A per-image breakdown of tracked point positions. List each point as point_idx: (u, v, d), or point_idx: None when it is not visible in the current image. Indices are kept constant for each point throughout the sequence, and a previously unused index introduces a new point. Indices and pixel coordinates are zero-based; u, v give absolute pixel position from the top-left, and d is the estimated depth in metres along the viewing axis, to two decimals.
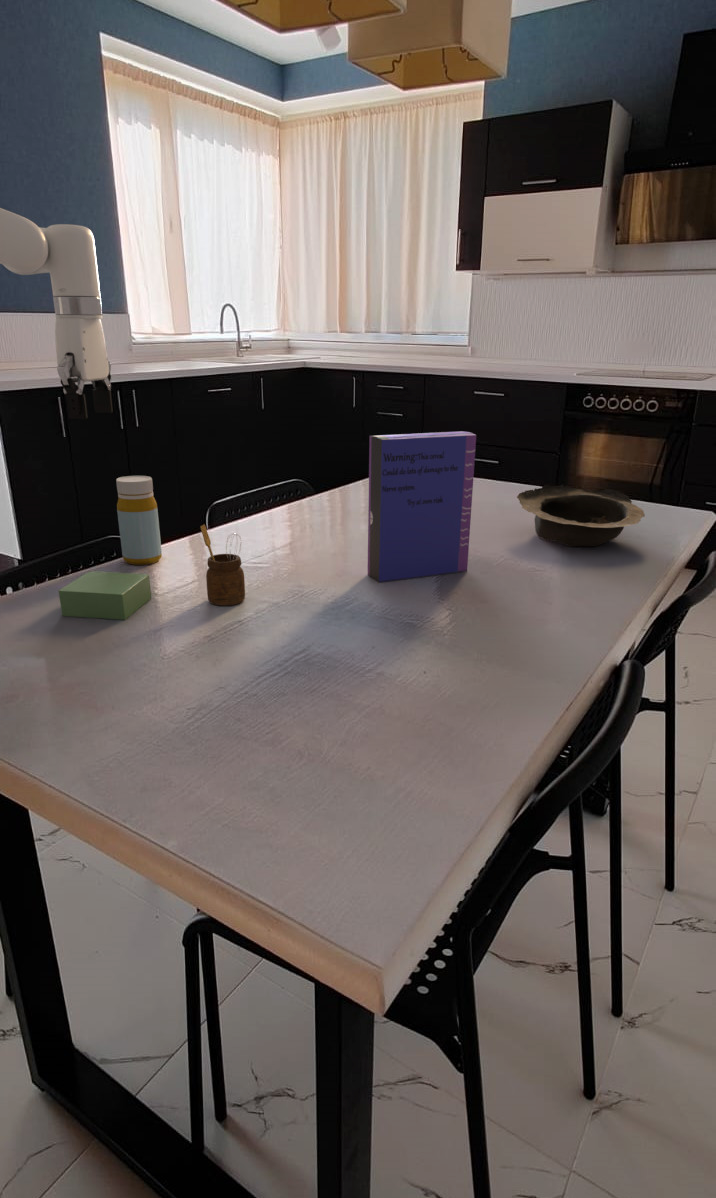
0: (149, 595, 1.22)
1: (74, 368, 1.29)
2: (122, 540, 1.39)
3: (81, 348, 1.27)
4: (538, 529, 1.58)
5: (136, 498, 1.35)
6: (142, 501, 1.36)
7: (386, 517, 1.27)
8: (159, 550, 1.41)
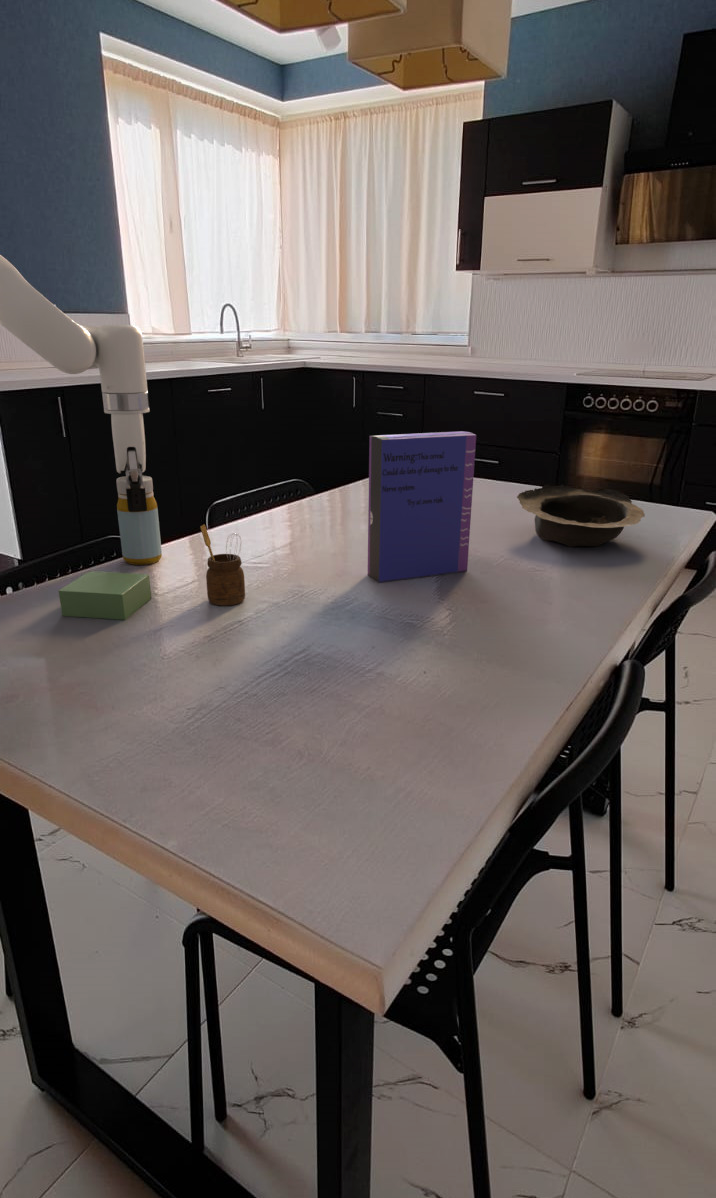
0: (149, 595, 1.22)
1: None
2: (122, 540, 1.39)
3: (142, 442, 1.30)
4: (538, 529, 1.58)
5: None
6: None
7: (386, 517, 1.27)
8: (159, 550, 1.41)
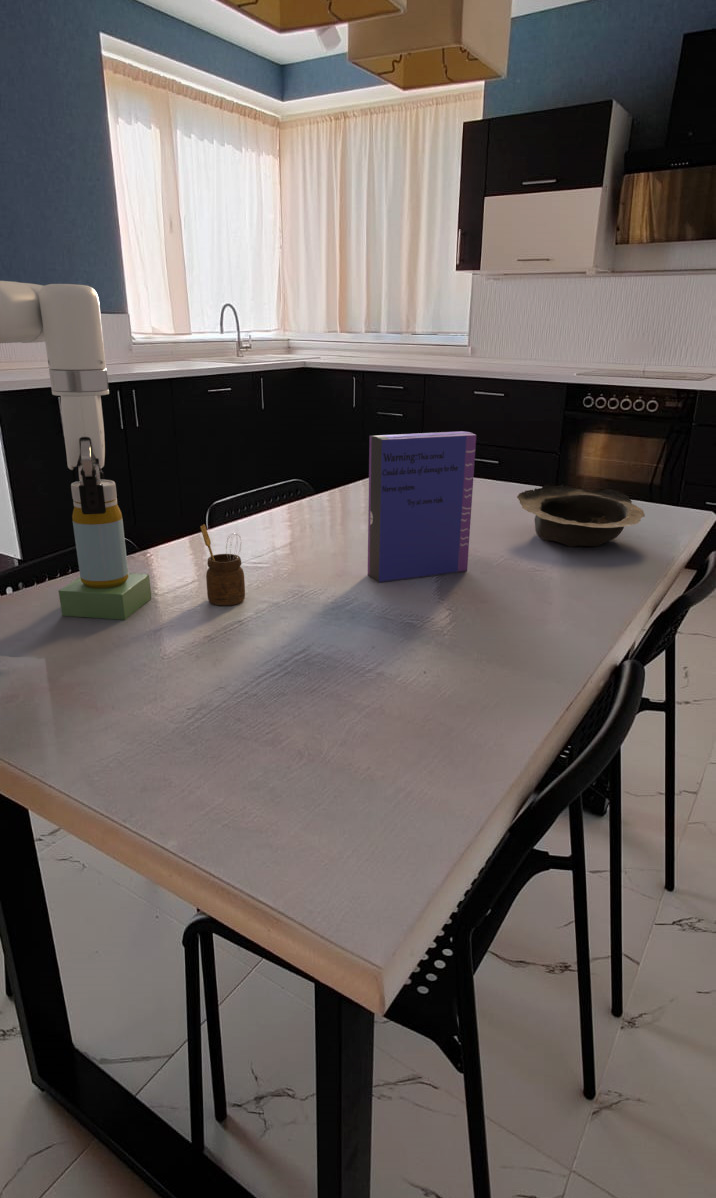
0: (149, 595, 1.22)
1: None
2: (79, 558, 1.14)
3: (99, 431, 1.05)
4: (538, 529, 1.58)
5: None
6: None
7: (386, 517, 1.27)
8: (125, 570, 1.16)
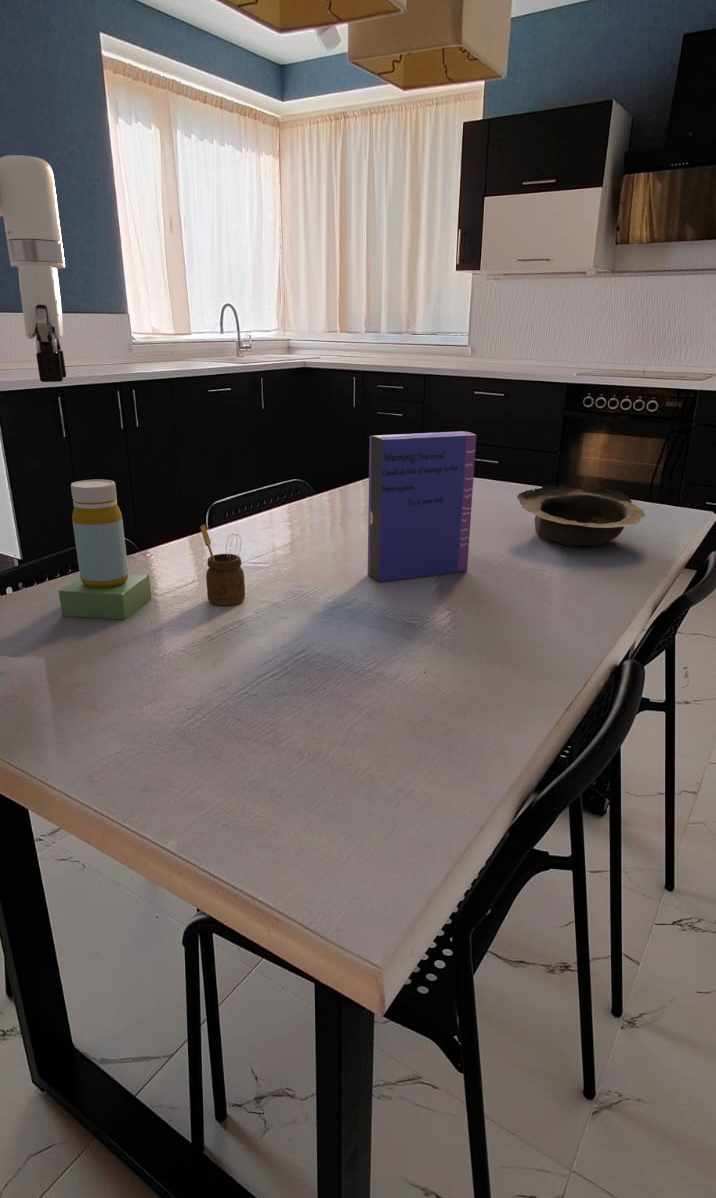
0: (149, 595, 1.22)
1: None
2: (79, 558, 1.14)
3: (54, 300, 1.12)
4: (538, 529, 1.58)
5: (95, 507, 1.10)
6: (102, 511, 1.11)
7: (386, 517, 1.27)
8: (125, 570, 1.16)
